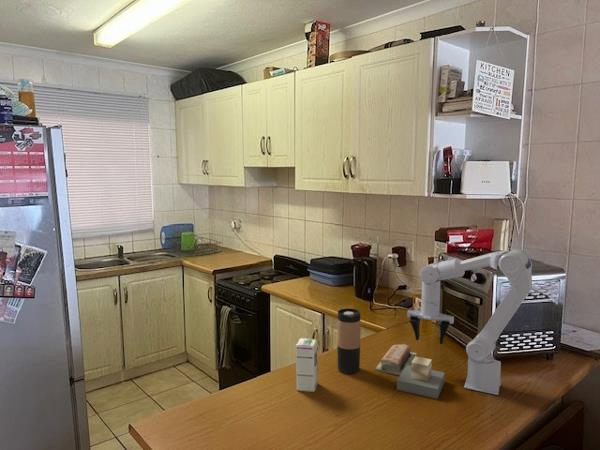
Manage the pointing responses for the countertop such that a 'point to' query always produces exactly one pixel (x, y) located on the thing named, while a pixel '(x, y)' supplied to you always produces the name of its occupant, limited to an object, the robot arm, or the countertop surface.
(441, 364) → the countertop surface
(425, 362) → the birch block
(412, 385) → the gray plinth
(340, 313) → the travel mug
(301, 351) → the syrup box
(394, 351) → the packaged product
